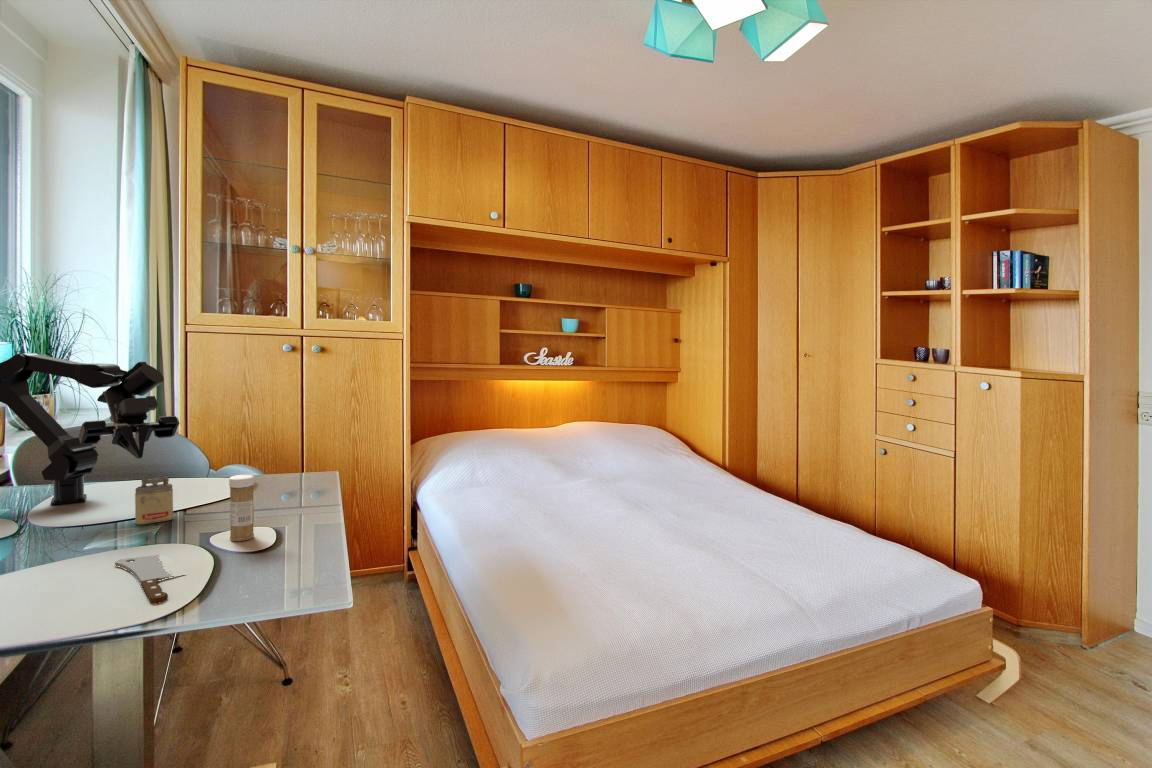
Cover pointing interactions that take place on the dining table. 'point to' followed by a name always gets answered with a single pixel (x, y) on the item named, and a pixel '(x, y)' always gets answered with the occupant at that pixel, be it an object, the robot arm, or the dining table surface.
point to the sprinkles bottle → (241, 507)
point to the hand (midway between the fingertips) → (140, 457)
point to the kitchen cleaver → (147, 575)
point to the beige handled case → (154, 501)
